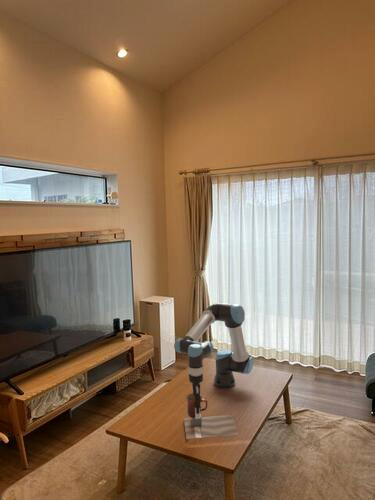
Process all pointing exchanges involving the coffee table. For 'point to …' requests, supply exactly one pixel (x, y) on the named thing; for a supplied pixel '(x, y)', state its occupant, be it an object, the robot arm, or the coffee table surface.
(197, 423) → the block
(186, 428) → the board
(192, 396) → the mug
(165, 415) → the coffee table surface
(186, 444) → the coffee table surface
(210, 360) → the coffee table surface
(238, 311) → the robot arm
